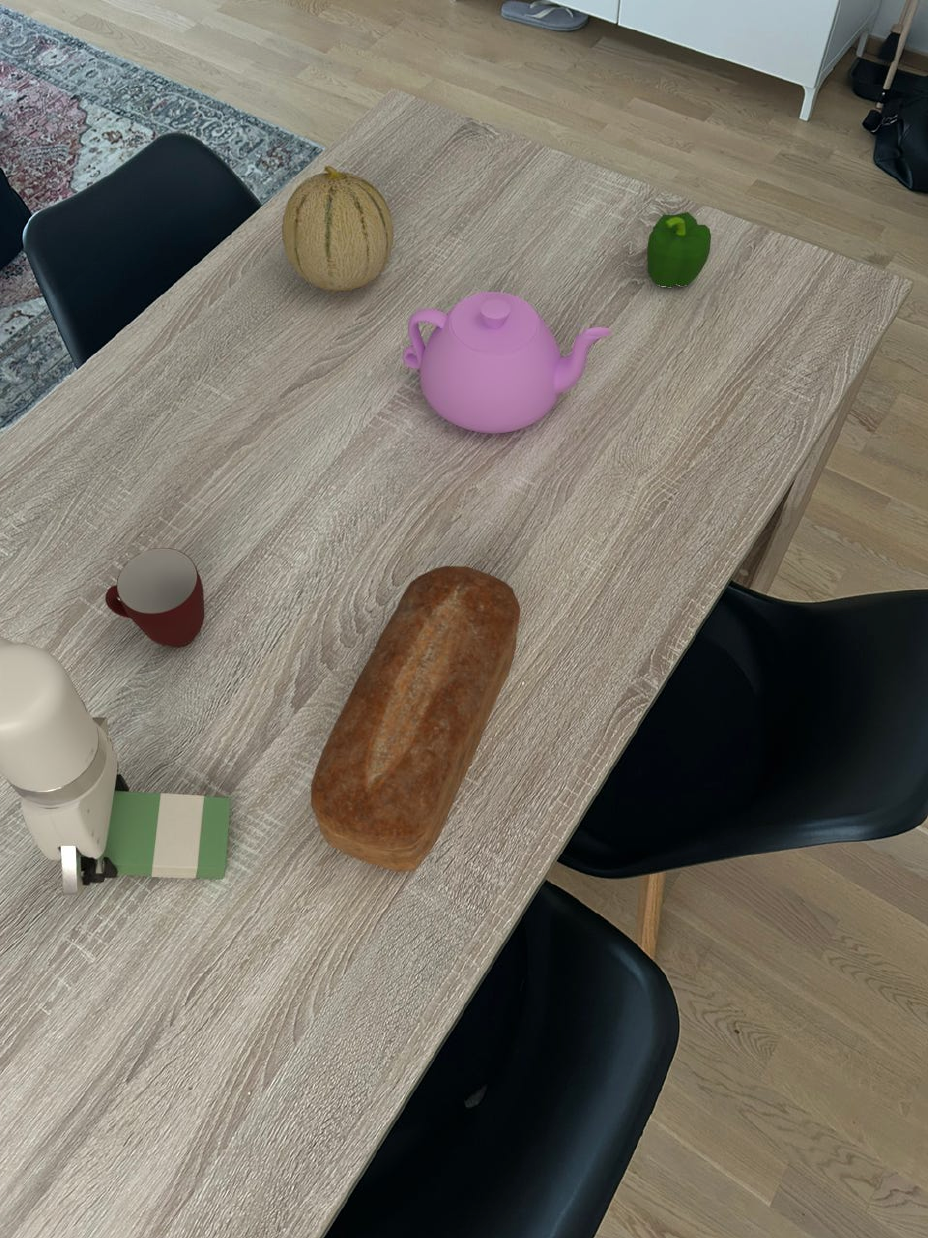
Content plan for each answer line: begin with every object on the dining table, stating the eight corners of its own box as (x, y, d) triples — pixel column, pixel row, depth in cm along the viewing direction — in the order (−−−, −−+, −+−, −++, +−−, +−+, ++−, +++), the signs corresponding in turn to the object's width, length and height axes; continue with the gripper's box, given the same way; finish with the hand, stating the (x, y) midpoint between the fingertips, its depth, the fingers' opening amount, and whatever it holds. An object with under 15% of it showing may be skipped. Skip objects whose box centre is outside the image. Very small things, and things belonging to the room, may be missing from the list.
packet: (77, 874, 95) (76, 863, 92) (88, 800, 98) (87, 788, 96) (222, 880, 98) (225, 869, 95) (228, 809, 102) (231, 797, 99)
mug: (111, 664, 110) (83, 614, 101) (124, 600, 114) (98, 546, 106) (211, 664, 110) (192, 614, 102) (220, 600, 114) (203, 547, 106)
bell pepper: (692, 254, 146) (707, 192, 137) (707, 294, 142) (724, 232, 133) (633, 258, 145) (645, 196, 137) (647, 299, 141) (660, 237, 132)
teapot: (384, 425, 128) (379, 341, 116) (420, 327, 137) (419, 240, 126) (584, 463, 126) (599, 382, 114) (607, 361, 135) (623, 275, 123)
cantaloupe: (321, 329, 137) (309, 233, 124) (269, 265, 143) (252, 168, 130) (417, 288, 141) (414, 191, 128) (362, 228, 148) (355, 130, 135)
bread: (301, 850, 100) (283, 796, 88) (425, 599, 115) (423, 525, 103) (418, 896, 97) (415, 848, 86) (529, 635, 113) (539, 564, 101)
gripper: (25, 657, 85) (79, 747, 100) (-19, 865, 76) (48, 929, 91) (119, 658, 86) (158, 746, 101) (86, 864, 77) (135, 927, 92)
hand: (106, 833), depth 96 cm, fingers closed on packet, 7 cm apart
